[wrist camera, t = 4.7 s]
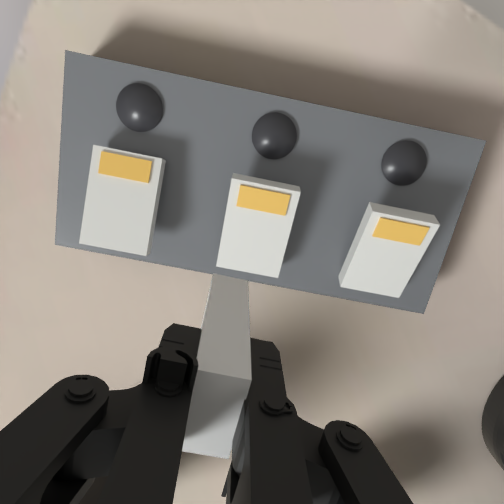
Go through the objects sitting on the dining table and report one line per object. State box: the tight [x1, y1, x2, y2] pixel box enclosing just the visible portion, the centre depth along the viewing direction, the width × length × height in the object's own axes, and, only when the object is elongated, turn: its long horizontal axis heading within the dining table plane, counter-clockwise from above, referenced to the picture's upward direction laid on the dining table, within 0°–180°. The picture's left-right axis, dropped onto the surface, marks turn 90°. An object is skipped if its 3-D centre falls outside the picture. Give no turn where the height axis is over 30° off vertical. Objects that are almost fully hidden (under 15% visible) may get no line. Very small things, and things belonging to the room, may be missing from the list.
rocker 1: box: [79, 145, 166, 256], centre depth 26 cm, size 4×6×1 cm
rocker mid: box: [216, 173, 301, 278], centre depth 26 cm, size 4×6×1 cm
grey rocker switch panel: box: [55, 50, 486, 314], centre depth 29 cm, size 28×13×4 cm, turn 79°
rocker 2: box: [338, 202, 440, 298], centre depth 27 cm, size 4×6×1 cm
